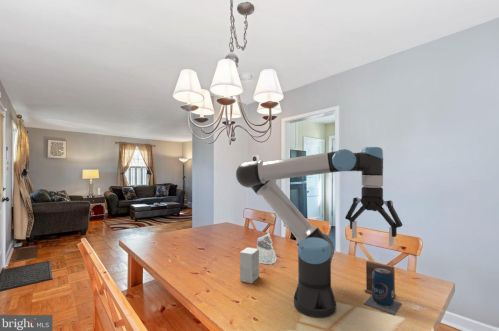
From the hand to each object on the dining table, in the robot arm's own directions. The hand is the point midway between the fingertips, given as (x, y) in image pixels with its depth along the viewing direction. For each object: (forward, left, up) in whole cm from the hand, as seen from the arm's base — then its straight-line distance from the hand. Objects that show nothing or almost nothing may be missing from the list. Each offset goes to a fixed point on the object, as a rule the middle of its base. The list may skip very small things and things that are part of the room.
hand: (371, 241), depth 95 cm
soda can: (-1, -4, -22) cm, 22 cm away
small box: (-20, +47, -23) cm, 56 cm away
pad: (-1, -4, -22) cm, 23 cm away
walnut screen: (+6, -1, -22) cm, 23 cm away
